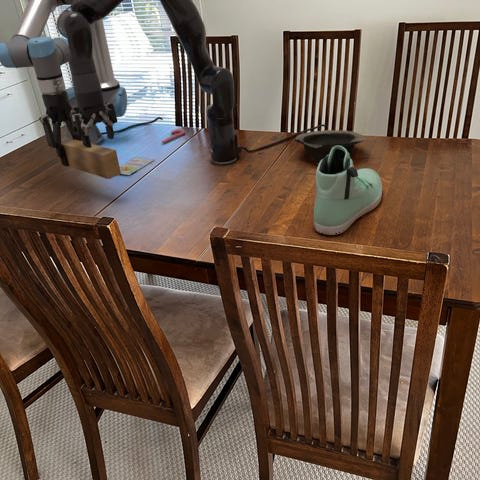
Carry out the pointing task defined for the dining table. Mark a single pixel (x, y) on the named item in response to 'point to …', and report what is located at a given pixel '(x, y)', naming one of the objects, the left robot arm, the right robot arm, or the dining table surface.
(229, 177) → the dining table surface
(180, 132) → the candy cane
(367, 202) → the sneaker
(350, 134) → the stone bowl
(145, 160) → the baking ingredient package
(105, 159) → the bar
